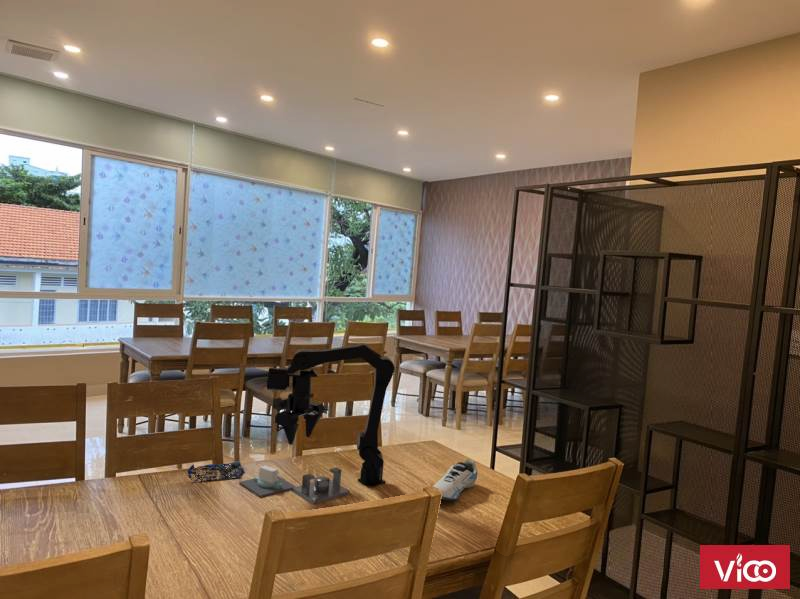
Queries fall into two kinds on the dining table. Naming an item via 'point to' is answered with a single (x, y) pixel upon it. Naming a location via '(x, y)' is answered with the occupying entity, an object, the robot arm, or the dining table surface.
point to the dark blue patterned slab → (219, 468)
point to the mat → (262, 492)
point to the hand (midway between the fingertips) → (299, 440)
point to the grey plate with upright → (321, 487)
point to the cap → (268, 478)
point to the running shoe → (457, 479)
